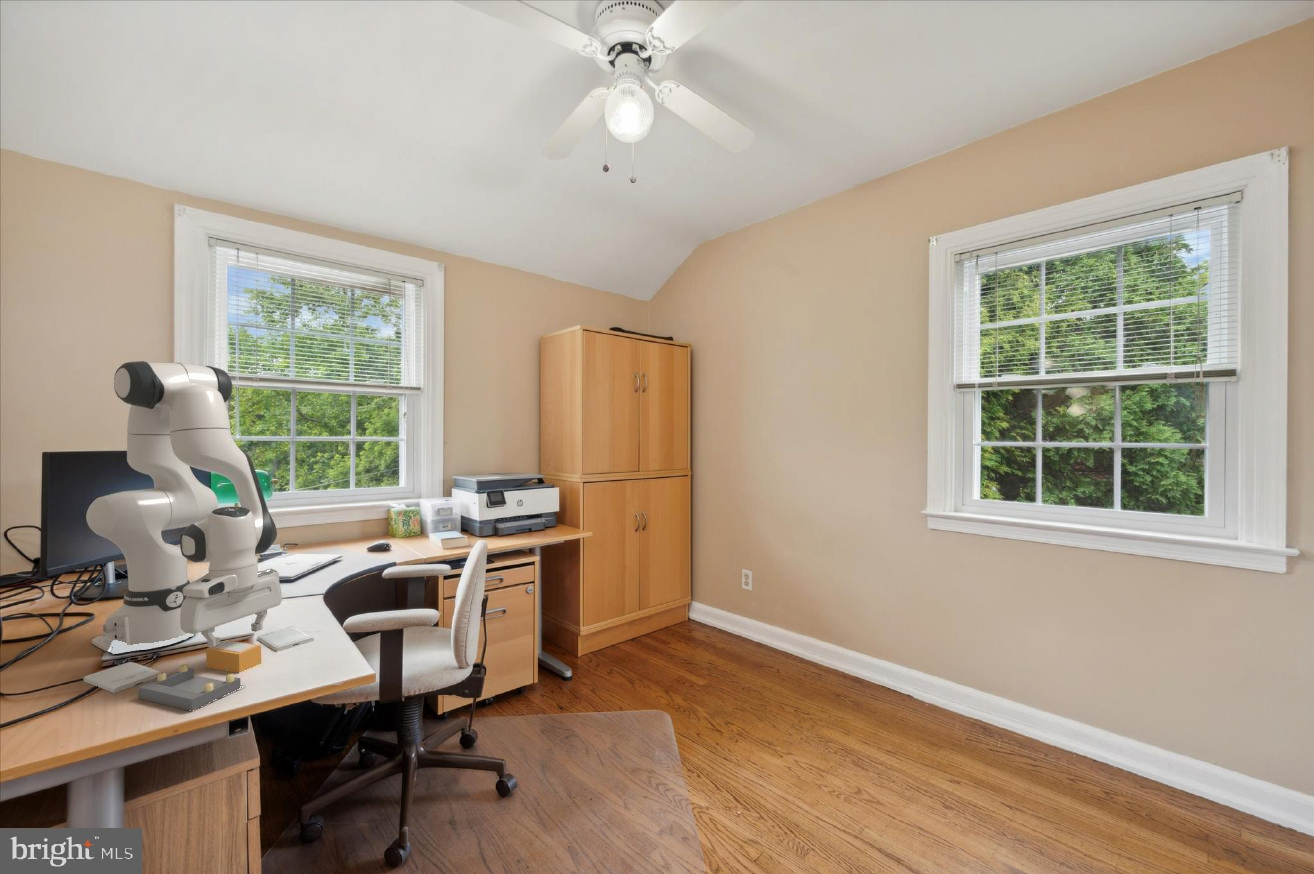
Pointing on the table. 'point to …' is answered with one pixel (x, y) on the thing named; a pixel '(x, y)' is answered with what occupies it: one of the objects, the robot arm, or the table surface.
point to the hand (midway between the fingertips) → (236, 638)
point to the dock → (187, 689)
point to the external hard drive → (121, 677)
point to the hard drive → (285, 638)
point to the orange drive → (233, 656)
